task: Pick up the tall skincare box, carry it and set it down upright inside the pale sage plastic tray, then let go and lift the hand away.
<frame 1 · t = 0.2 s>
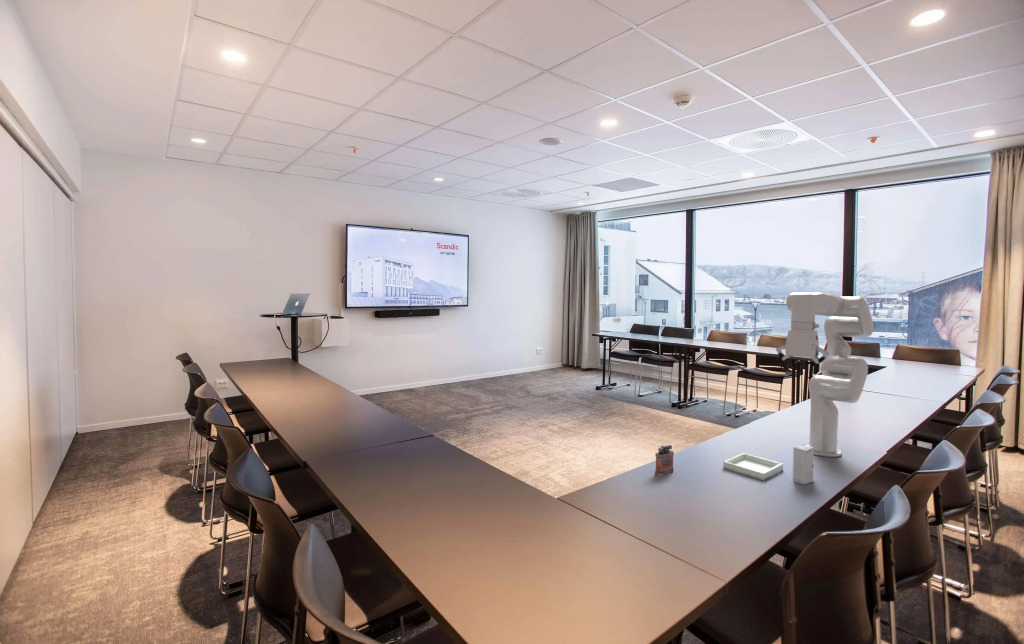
hand: (800, 372, 178), 36 cm above the table, tool pointing down, fingers open, 9 cm apart
lighter: (664, 472, 177), on the table
skincare box: (802, 481, 168), on the table
sage tray: (752, 469, 179), on the table
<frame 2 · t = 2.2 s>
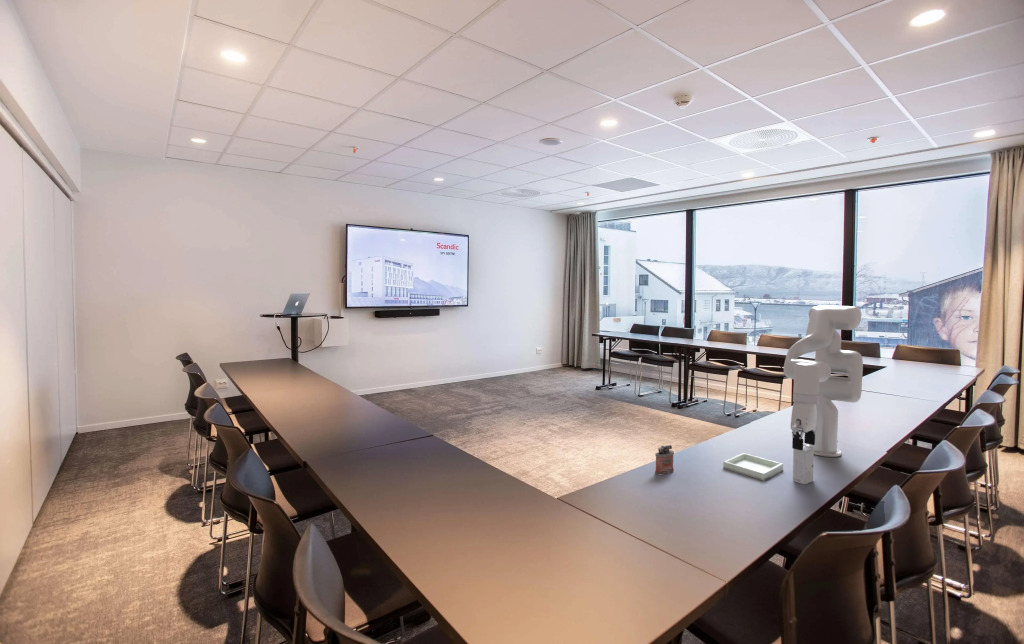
hand: (803, 446, 167), 12 cm above the table, tool pointing down, fingers open, 9 cm apart
nothing on the table moved.
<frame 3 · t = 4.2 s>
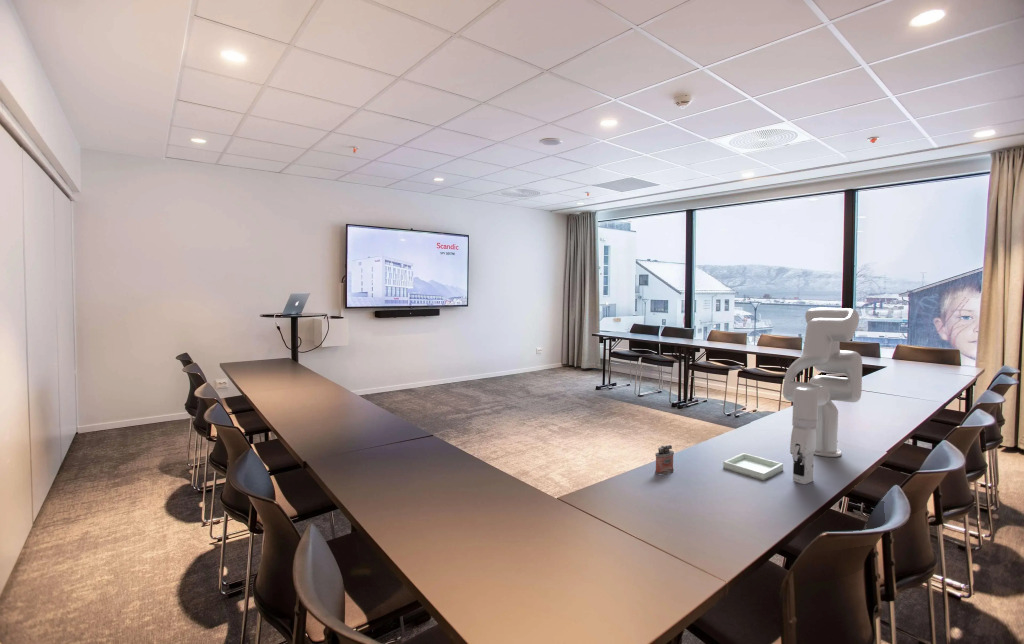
hand: (803, 472, 168), 3 cm above the table, tool pointing down, fingers closed on skincare box, 6 cm apart
skincare box: (802, 481, 168), on the table, touching gripper
everything else where it was.
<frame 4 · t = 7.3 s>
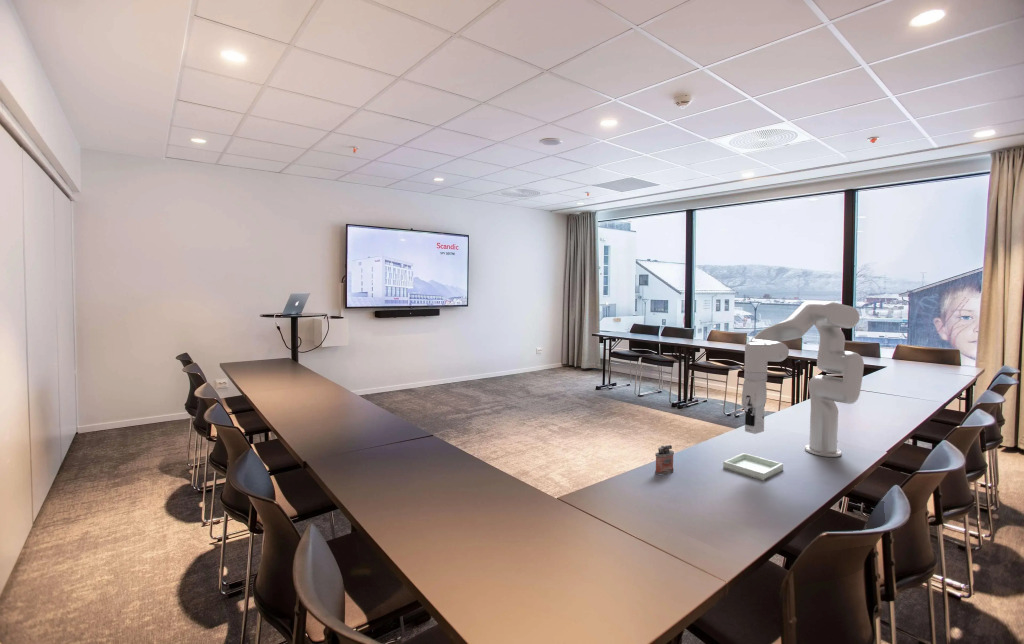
hand: (754, 423, 178), 18 cm above the table, tool pointing down, fingers closed on skincare box, 6 cm apart
skincare box: (754, 431, 178), point 14 cm above the table, touching gripper
everything else where it was.
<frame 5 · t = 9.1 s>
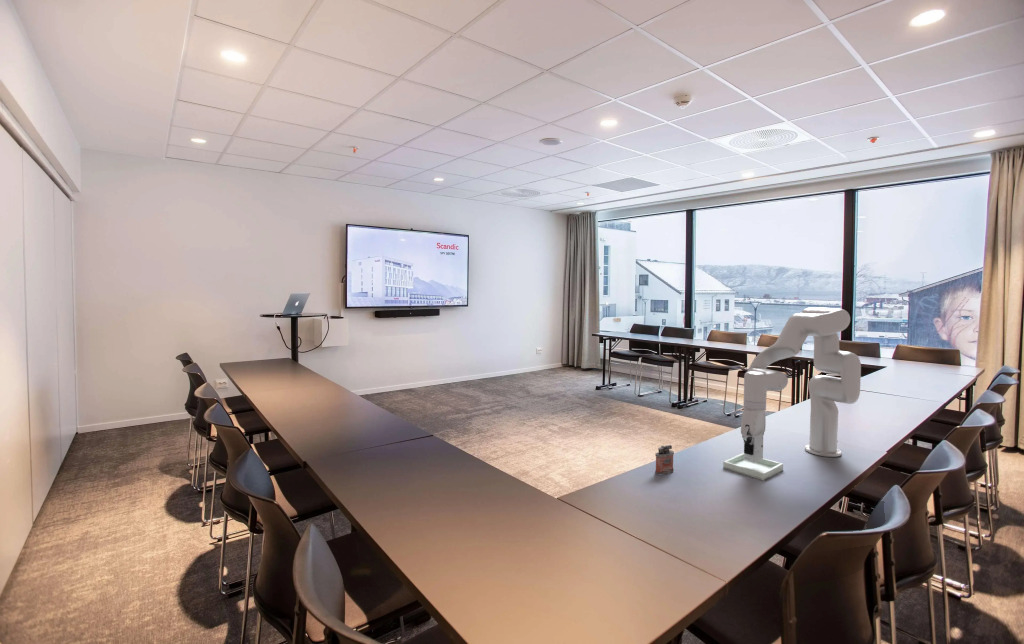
hand: (753, 451, 179), 7 cm above the table, tool pointing down, fingers closed on skincare box, 6 cm apart
skincare box: (753, 460, 179), point 3 cm above the table, touching gripper
everything else where it was.
when the fingers open (5 cm above the table, at t = 10.4 s): skincare box drops 1 cm, resting on sage tray.
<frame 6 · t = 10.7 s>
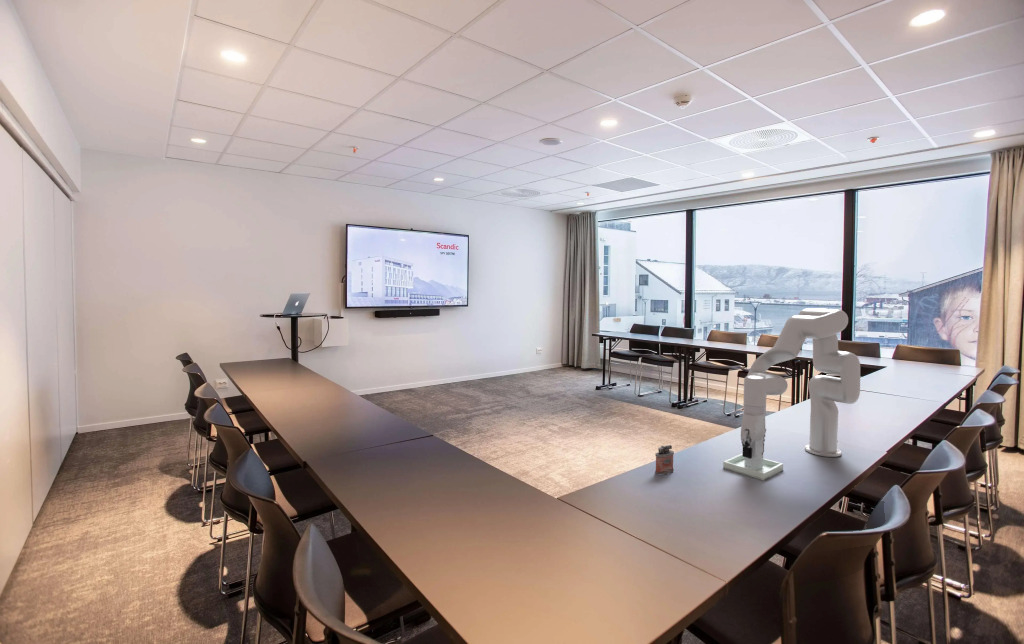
hand: (753, 454, 179), 6 cm above the table, tool pointing down, fingers open, 8 cm apart
skincare box: (753, 467, 179), resting on sage tray
everything else where it was.
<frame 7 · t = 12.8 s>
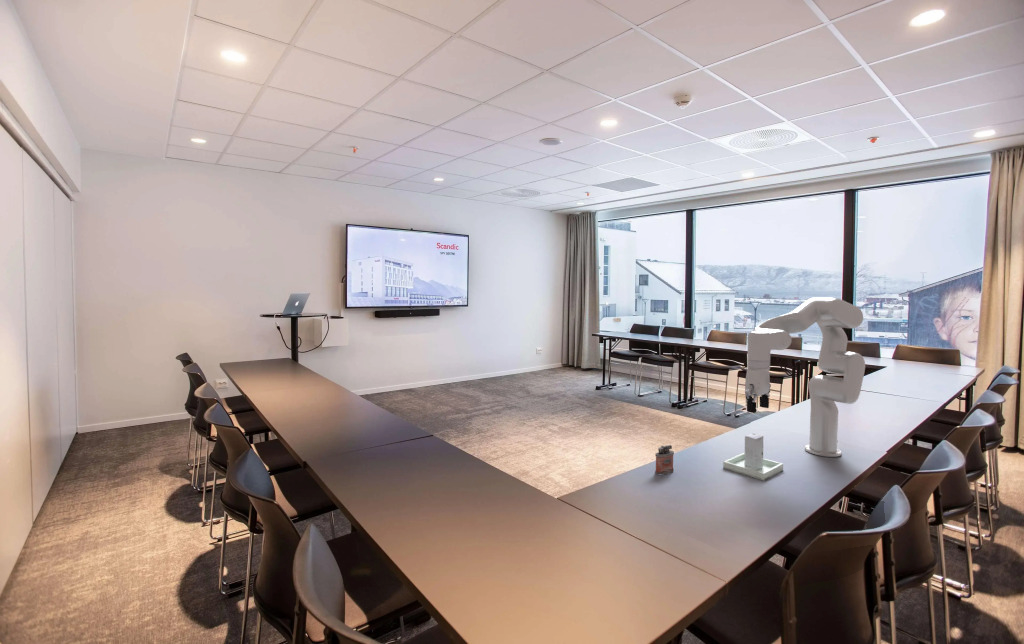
hand: (757, 409, 178), 22 cm above the table, tool pointing down, fingers open, 9 cm apart
nothing on the table moved.
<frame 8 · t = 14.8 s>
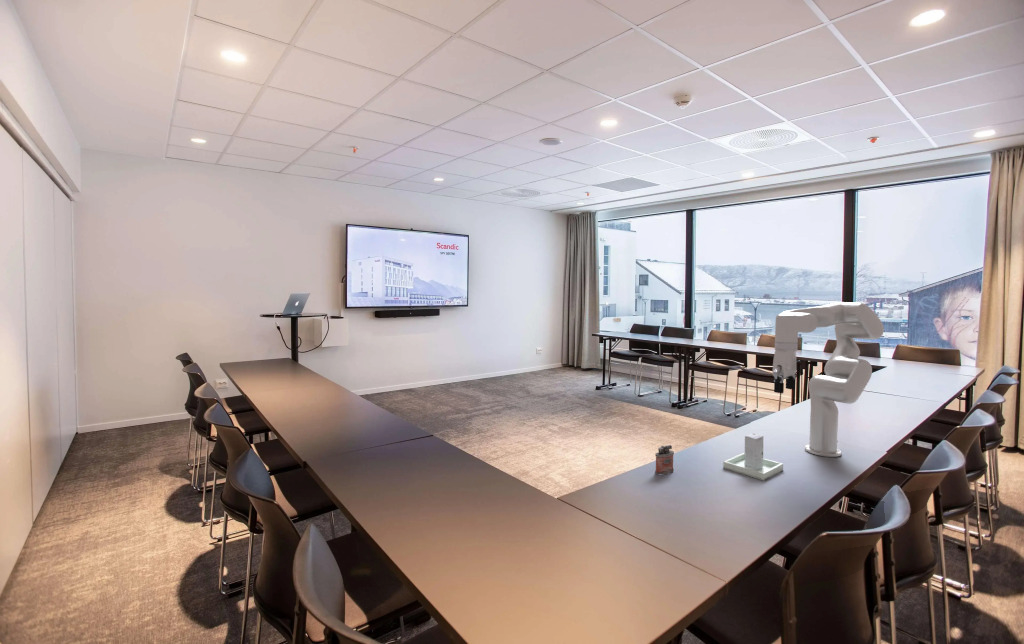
hand: (784, 390, 183), 28 cm above the table, tool pointing down, fingers open, 9 cm apart
nothing on the table moved.
at the end: skincare box inside the target area on the sage tray (0.4 cm from its centre), point 0.4 cm above the sage tray's base; skincare box tilted 0°; the gripper is holding nothing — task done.
